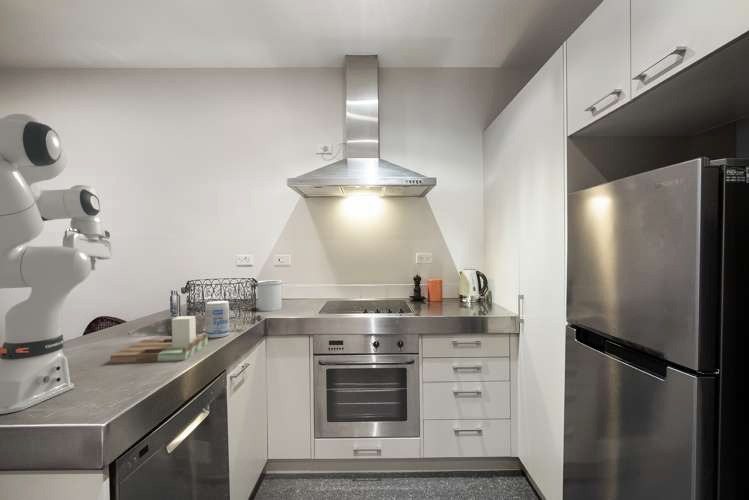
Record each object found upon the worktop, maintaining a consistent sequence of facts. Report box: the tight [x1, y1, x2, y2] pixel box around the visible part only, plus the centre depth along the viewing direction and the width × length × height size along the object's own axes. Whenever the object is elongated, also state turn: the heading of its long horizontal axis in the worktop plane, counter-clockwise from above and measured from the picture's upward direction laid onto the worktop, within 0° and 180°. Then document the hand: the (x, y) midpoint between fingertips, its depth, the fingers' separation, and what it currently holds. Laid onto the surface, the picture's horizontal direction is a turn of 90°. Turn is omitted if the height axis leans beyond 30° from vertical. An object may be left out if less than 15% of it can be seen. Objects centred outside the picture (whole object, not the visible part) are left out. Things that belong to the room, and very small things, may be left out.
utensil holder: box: [256, 279, 283, 312], centre depth 229 cm, size 15×15×18 cm
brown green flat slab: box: [109, 332, 209, 364], centre depth 136 cm, size 22×24×4 cm
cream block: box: [171, 315, 197, 347], centre depth 137 cm, size 6×6×10 cm
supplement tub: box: [204, 300, 230, 339], centre depth 161 cm, size 10×10×15 cm
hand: (90, 270), depth 131 cm, fingers closed
